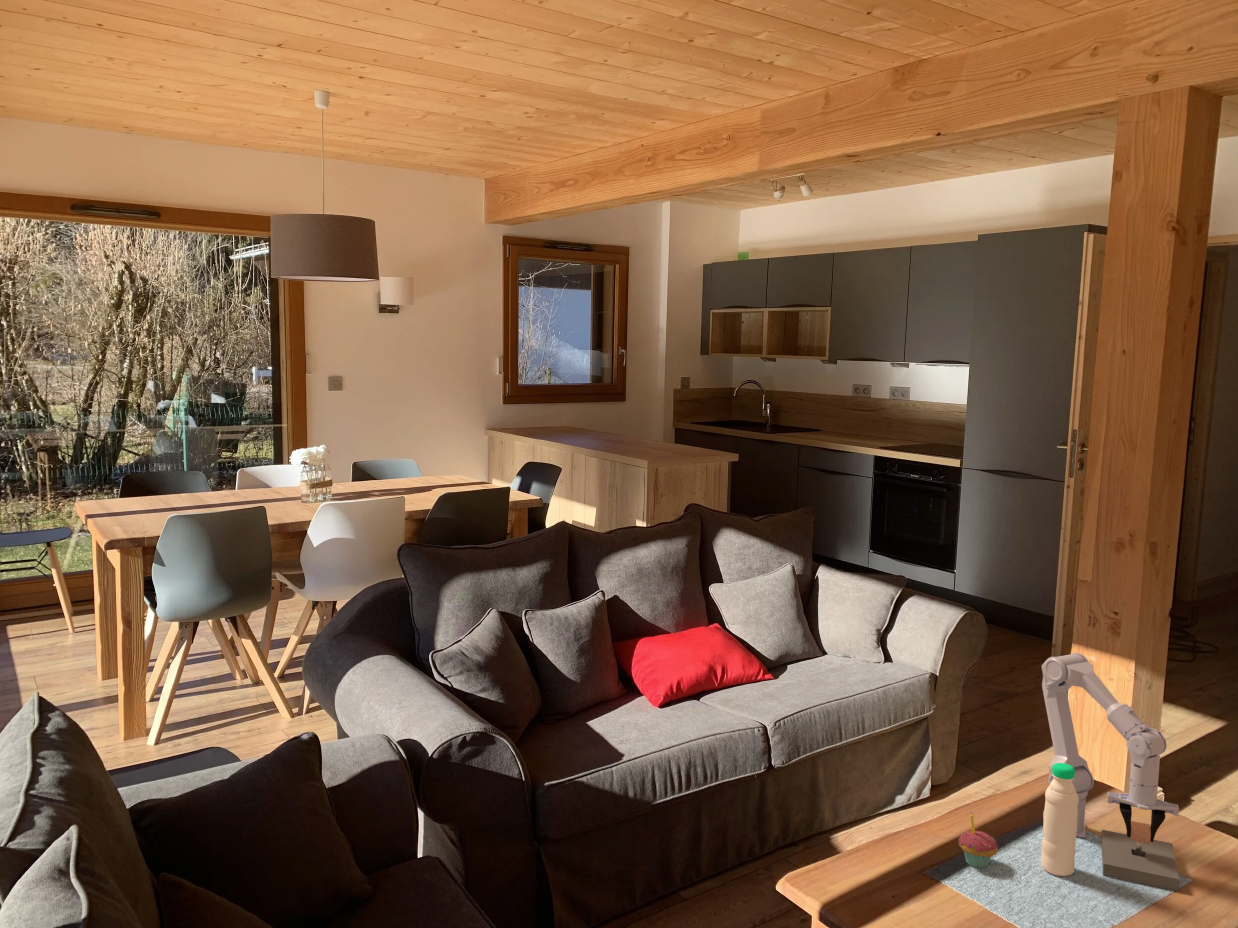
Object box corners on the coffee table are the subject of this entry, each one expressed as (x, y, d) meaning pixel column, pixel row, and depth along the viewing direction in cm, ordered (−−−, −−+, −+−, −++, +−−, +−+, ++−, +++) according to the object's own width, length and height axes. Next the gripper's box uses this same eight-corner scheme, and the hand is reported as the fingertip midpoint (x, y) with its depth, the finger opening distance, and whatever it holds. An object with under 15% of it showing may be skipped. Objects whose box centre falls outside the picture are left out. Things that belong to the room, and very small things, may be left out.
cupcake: (955, 865, 222) (957, 816, 221) (960, 849, 230) (963, 801, 229) (994, 875, 218) (997, 825, 217) (998, 858, 226) (1001, 810, 225)
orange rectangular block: (1129, 853, 223) (1131, 827, 222) (1128, 845, 226) (1130, 820, 226) (1149, 857, 221) (1151, 831, 220) (1148, 849, 225) (1149, 824, 224)
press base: (1102, 874, 219) (1103, 863, 219) (1101, 840, 235) (1102, 829, 235) (1178, 891, 213) (1179, 879, 212) (1171, 854, 229) (1172, 843, 229)
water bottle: (1077, 879, 217) (1084, 773, 215) (1044, 875, 219) (1051, 770, 216) (1069, 863, 224) (1076, 760, 222) (1037, 859, 226) (1043, 758, 223)
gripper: (1109, 782, 221) (1105, 837, 223) (1181, 794, 215) (1177, 852, 217) (1108, 770, 228) (1104, 824, 229) (1178, 782, 222) (1174, 838, 223)
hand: (1139, 837), depth 223 cm, fingers closed on orange rectangular block, 4 cm apart
